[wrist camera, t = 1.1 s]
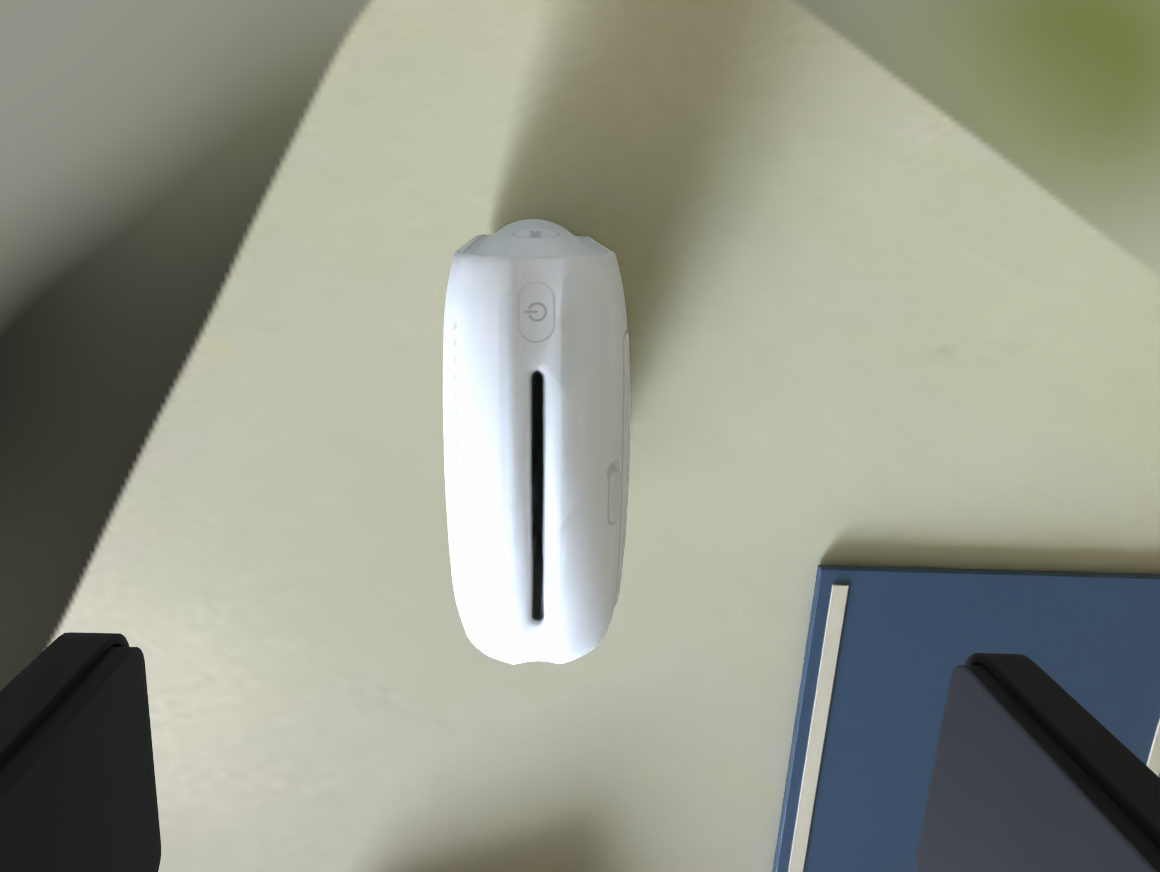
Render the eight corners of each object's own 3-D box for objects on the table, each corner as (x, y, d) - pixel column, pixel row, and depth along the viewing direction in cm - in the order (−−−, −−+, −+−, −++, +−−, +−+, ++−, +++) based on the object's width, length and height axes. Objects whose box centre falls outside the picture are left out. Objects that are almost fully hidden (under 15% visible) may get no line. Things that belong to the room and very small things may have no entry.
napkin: (817, 564, 32) (822, 570, 32) (1217, 575, 33) (1227, 581, 33) (761, 944, 37) (764, 953, 37) (1111, 942, 38) (1118, 951, 38)
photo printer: (466, 214, 28) (421, 233, 16) (598, 215, 28) (650, 236, 16) (473, 510, 31) (439, 714, 19) (592, 508, 31) (633, 709, 19)
